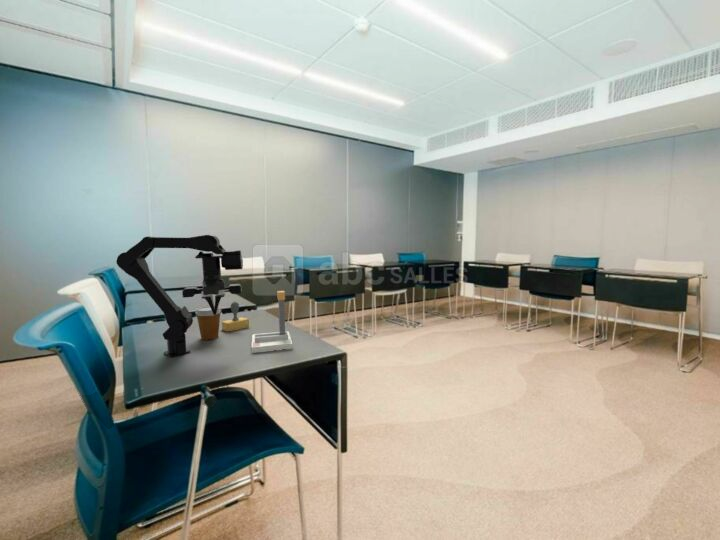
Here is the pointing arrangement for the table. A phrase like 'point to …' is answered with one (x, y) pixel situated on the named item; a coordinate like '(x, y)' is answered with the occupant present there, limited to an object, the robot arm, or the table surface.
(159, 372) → the table surface
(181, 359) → the table surface
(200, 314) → the disposable coffee cup
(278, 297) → the switch handle
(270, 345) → the switch base
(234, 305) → the rubber stamp
